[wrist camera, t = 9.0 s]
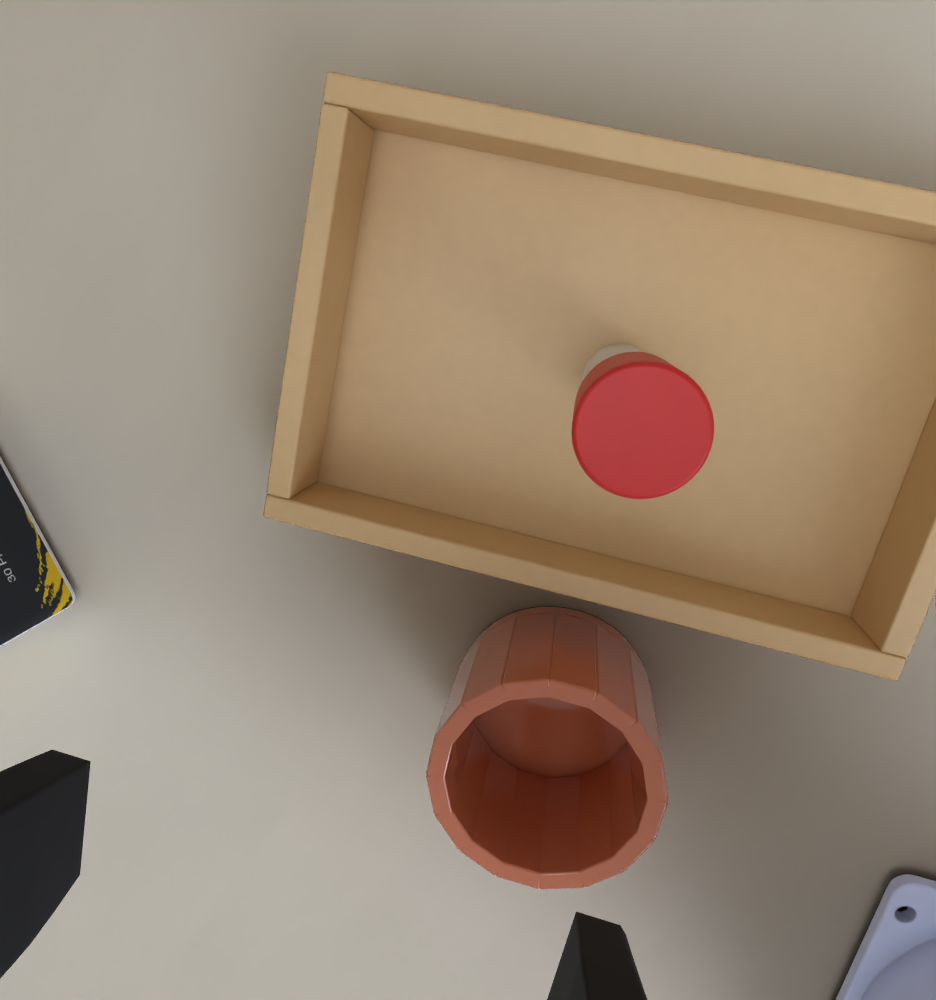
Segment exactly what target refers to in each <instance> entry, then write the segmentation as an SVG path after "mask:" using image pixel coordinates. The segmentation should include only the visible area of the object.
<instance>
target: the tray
mask: <svg viewBox="0 0 936 1000" xmlns="http://www.w3.org/2000/svg"><path fill="white" fill-rule="evenodd" d="M323 102H324V104H322V107H321V114H320V121H319V128H318V135H317V142H316V149H315V156H314V163H313V170H312V177H311V184H310V191H309V198H308V205H307V212H306V219H305V226H304V233H303V240H302V247H301V254H300V261H299V268H298V275H297V282H296V289H295V296H294V303H293V310H292V317H291V324H290V331H289V338H288V345H287V352H286V359H285V366H284V373H283V380H282V387H281V394H280V401H279V408H278V415H277V422H276V429H275V436H274V443H273V450H272V457H271V464H270V471H269V478H268V485H267V493H268V494H267V495H266V500H265V507H264V514H263V515H264V517H266V518H270V519H274V520H278V521H282V522H286V523H289V524H293V525H297V526H301V527H305V528H309V529H313V530H316V531H320V532H324V533H328V534H332V535H336V536H339V537H343V538H347V539H351V540H355V541H359V542H363V543H366V544H370V545H374V546H378V547H382V548H386V549H389V550H393V551H397V552H401V553H405V554H409V555H413V556H416V557H420V558H424V559H428V560H432V561H436V562H439V563H443V564H447V565H451V566H455V567H459V568H463V569H466V570H470V571H474V572H478V573H482V574H486V575H489V576H493V577H497V578H501V579H505V580H509V581H513V582H516V583H520V584H524V585H528V586H532V587H536V588H539V589H543V590H547V591H551V592H555V593H559V594H563V595H566V596H570V597H574V598H578V599H582V600H586V601H589V602H593V603H597V604H601V605H605V606H609V607H613V608H616V609H620V610H624V611H628V612H632V613H636V614H639V615H643V616H647V617H651V618H655V619H659V620H663V621H666V622H670V623H674V624H678V625H682V626H686V627H689V628H693V629H697V630H701V631H705V632H709V633H713V634H716V635H720V636H724V637H728V638H732V639H736V640H739V641H743V642H747V643H751V644H755V645H759V646H763V647H766V648H770V649H774V650H778V651H782V652H786V653H789V654H793V655H797V656H801V657H805V658H809V659H813V660H816V661H820V662H824V663H828V664H832V665H836V666H839V667H843V668H847V669H851V670H855V671H859V672H863V673H866V674H870V675H874V676H878V677H882V678H886V679H889V680H893V681H897V680H898V679H899V677H900V674H901V672H902V670H903V667H904V665H905V662H906V658H908V657H909V654H910V652H911V649H912V647H913V645H914V642H915V640H916V638H917V635H918V633H919V631H920V628H921V626H922V623H923V621H924V619H925V616H926V614H927V612H928V609H929V607H930V604H931V602H932V600H933V597H934V595H935V593H936V192H934V191H929V190H924V189H919V188H914V187H909V186H904V185H899V184H894V183H889V182H884V181H879V180H874V179H869V178H864V177H859V176H854V175H849V174H844V173H839V172H833V171H828V170H823V169H818V168H813V167H808V166H803V165H798V164H793V163H788V162H783V161H778V160H773V159H768V158H763V157H758V156H753V155H748V154H743V153H738V152H733V151H728V150H723V149H718V148H713V147H708V146H703V145H698V144H692V143H687V142H682V141H677V140H672V139H667V138H662V137H657V136H652V135H647V134H642V133H637V132H632V131H627V130H622V129H617V128H612V127H607V126H602V125H597V124H592V123H587V122H582V121H577V120H572V119H567V118H562V117H557V116H551V115H546V114H541V113H536V112H531V111H526V110H521V109H516V108H511V107H506V106H501V105H496V104H491V103H486V102H481V101H476V100H471V99H466V98H461V97H456V96H451V95H446V94H441V93H436V92H431V91H426V90H421V89H416V88H410V87H405V86H400V85H395V84H390V83H385V82H380V81H375V80H370V79H365V78H360V77H355V76H350V75H345V74H340V73H335V72H327V74H326V80H325V87H324V94H323ZM612 344H629V345H632V346H634V347H637V348H638V349H640V350H641V351H643V352H644V353H649V354H653V355H656V356H658V357H660V358H662V359H664V360H665V361H667V362H669V363H670V364H672V365H673V366H675V367H676V368H678V369H680V370H681V371H683V372H684V373H686V374H687V375H688V376H690V377H691V378H692V379H693V380H694V381H695V382H696V383H697V384H698V385H699V386H700V387H701V389H702V390H703V392H704V393H705V395H706V397H707V399H708V401H709V403H710V406H711V409H712V412H713V418H714V439H713V443H712V447H711V450H710V453H709V455H708V458H707V459H706V461H705V463H704V465H703V466H702V468H701V469H700V470H699V472H698V473H697V474H696V475H695V476H694V477H693V478H692V479H691V480H690V481H689V482H688V483H686V484H685V485H684V486H682V487H681V488H679V489H677V490H676V491H673V492H671V493H669V494H667V495H664V496H661V497H656V498H651V499H630V498H625V497H621V496H618V495H615V494H612V493H610V492H608V491H606V490H605V489H603V488H601V487H600V486H598V485H597V484H596V483H595V482H593V481H592V480H591V479H590V478H589V476H588V475H587V474H586V473H585V472H584V470H583V469H582V467H581V466H580V464H579V462H578V460H577V458H576V455H575V452H574V448H573V444H572V434H571V432H572V420H573V412H574V405H575V399H576V395H577V392H578V389H579V387H580V385H581V383H582V377H583V372H584V369H585V366H586V364H587V362H588V361H589V359H590V358H591V357H592V355H594V354H595V353H596V352H597V351H598V350H600V349H601V348H603V347H605V346H608V345H612Z"/></svg>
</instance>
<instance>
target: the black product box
mask: <svg viewBox="0 0 936 1000" xmlns="http://www.w3.org/2000/svg"><path fill="white" fill-rule="evenodd" d="M74 600H75V594H74V591H73V589H72V587H71V585H70V584H69V582H68V580H67V578H66V576H65V574H64V573H63V571H62V569H61V567H60V565H59V563H58V561H57V560H56V558H55V556H54V554H53V552H52V550H51V549H50V547H49V545H48V543H47V541H46V539H45V538H44V536H43V534H42V532H41V530H40V528H39V527H38V525H37V523H36V521H35V519H34V517H33V516H32V514H31V512H30V510H29V508H28V506H27V505H26V503H25V501H24V499H23V497H22V495H21V494H20V492H19V490H18V488H17V486H16V484H15V483H14V481H13V479H12V477H11V475H10V473H9V472H8V470H7V468H6V466H5V464H4V462H3V461H2V459H1V457H0V647H1V646H3V645H4V644H6V643H8V642H10V641H11V640H13V639H15V638H17V637H18V636H20V635H22V634H24V633H25V632H27V631H29V630H31V629H32V628H34V627H36V626H38V625H39V624H41V623H43V622H44V621H46V620H48V619H50V618H51V617H53V616H55V615H57V614H58V613H60V612H62V611H64V610H65V609H67V608H68V607H70V606H71V605H72V604H73V602H74Z"/></svg>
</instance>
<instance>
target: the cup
mask: <svg viewBox="0 0 936 1000" xmlns="http://www.w3.org/2000/svg"><path fill="white" fill-rule="evenodd" d="M426 774H427V775H426V778H427V782H428V787H429V792H430V796H431V801H432V806H433V810H434V814H435V816H436V818H437V819H438V821H439V822H440V824H441V825H442V827H443V828H444V830H445V831H446V832H447V834H448V835H449V837H450V838H451V840H452V841H453V843H454V844H455V845H456V847H457V848H458V849H460V851H461V852H462V853H463V854H465V855H466V856H468V857H469V858H470V859H472V860H473V861H475V862H476V863H478V864H479V865H480V866H482V867H483V868H485V869H486V870H487V871H489V872H490V873H492V874H493V875H496V876H497V877H500V878H503V879H507V880H510V881H513V882H517V883H520V884H523V885H527V886H530V887H533V888H537V889H538V888H540V889H561V888H583V887H584V886H585V887H587V886H590V885H592V884H595V883H597V882H600V881H602V880H604V879H607V878H609V877H612V876H614V875H617V874H619V873H622V872H623V871H624V870H627V869H628V868H629V866H630V865H631V864H632V863H633V862H634V861H635V860H636V859H637V858H638V857H639V856H640V855H641V854H642V853H643V852H644V851H645V850H646V849H647V848H648V847H649V846H650V845H651V844H652V843H653V842H654V840H655V839H656V836H657V833H658V830H659V827H660V824H661V821H662V819H663V816H664V813H665V810H666V807H667V804H668V802H667V801H668V794H667V787H666V779H665V772H664V765H663V758H662V752H661V746H660V740H659V734H658V728H657V722H656V716H655V710H654V705H653V699H652V693H651V687H650V681H649V679H648V676H647V673H646V670H645V667H644V665H643V663H642V661H641V659H640V657H639V656H638V654H637V652H636V651H635V650H634V648H633V647H632V646H631V644H630V643H629V642H628V641H627V640H626V639H625V638H624V637H623V636H622V635H621V634H620V633H619V632H618V631H616V630H615V629H614V628H613V627H611V626H610V625H608V624H607V623H605V622H603V621H602V620H600V619H598V618H596V617H594V616H592V615H589V614H587V613H583V612H580V611H577V610H573V609H568V608H562V607H536V608H530V609H524V610H521V611H518V612H515V613H512V614H510V615H507V616H505V617H503V618H501V619H499V620H498V621H496V622H495V623H493V624H491V625H490V626H489V627H488V628H487V629H485V630H484V631H483V632H482V633H481V634H480V635H479V636H478V637H477V639H476V640H475V641H474V642H473V644H472V645H471V647H470V648H469V650H468V651H467V653H466V656H465V658H464V659H463V660H462V663H461V664H460V667H459V670H458V672H457V675H456V678H455V681H454V684H453V686H452V689H451V692H450V695H449V698H448V700H447V703H446V706H445V709H444V712H443V714H442V717H441V720H440V723H439V726H438V728H437V731H436V734H435V737H434V741H433V745H432V749H431V754H430V758H429V762H428V767H427V771H426Z"/></svg>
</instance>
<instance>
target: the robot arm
mask: <svg viewBox="0 0 936 1000" xmlns="http://www.w3.org/2000/svg"><path fill="white" fill-rule="evenodd" d="M89 771H90V761H87V760H84V759H81V758H78V757H74V756H71V755H68V754H65V753H62V752H58V751H55V750H50V751H48V752H45V753H43V754H40V755H38V756H35V757H33V758H31V759H28V760H26V761H24V762H21V763H19V764H17V765H14V766H12V767H10V768H8V769H5V770H3V771H1V772H0V978H1V977H2V976H3V975H4V974H5V972H6V971H7V970H8V969H9V968H10V967H11V966H12V965H13V963H14V962H15V961H16V960H17V959H18V958H19V956H20V955H21V954H22V953H23V952H24V951H25V950H26V948H27V947H28V946H29V945H30V944H31V942H32V941H33V940H34V938H35V937H36V936H37V934H38V933H39V931H40V930H41V929H42V927H43V926H44V925H45V923H46V922H47V921H48V919H49V918H50V917H51V915H52V914H53V912H54V911H55V910H56V908H57V907H58V905H59V904H60V902H61V901H62V900H63V898H64V897H65V895H66V894H67V892H68V891H69V890H70V888H71V887H72V885H73V884H74V882H75V881H76V879H77V878H78V877H79V875H80V867H81V856H82V846H83V835H84V824H85V814H86V803H87V793H88V782H89ZM903 906H908V908H907V910H904V911H896V910H897V909H898V908H900V907H903ZM547 1000H647V998H646V995H645V992H644V989H643V986H642V983H641V980H640V977H639V974H638V971H637V968H636V965H635V962H634V959H633V956H632V953H631V950H630V947H629V944H628V940H627V937H626V934H625V933H624V931H623V929H622V927H621V926H620V925H618V924H614V923H611V922H608V921H605V920H601V919H598V918H595V917H592V916H588V915H585V914H582V913H579V912H576V914H575V917H574V920H573V923H572V926H571V929H570V932H569V935H568V938H567V941H566V944H565V947H564V950H563V953H562V956H561V959H560V962H559V966H558V969H557V972H556V975H555V978H554V981H553V984H552V987H551V990H550V993H549V996H548V999H547ZM836 1000H936V881H933V880H929V879H926V878H922V877H919V876H915V875H909V874H905V875H900V876H897V877H896V878H894V879H892V880H891V882H890V883H889V884H888V886H887V889H886V891H885V893H884V895H883V897H882V899H881V902H880V904H879V906H878V908H877V910H876V913H875V915H874V917H873V919H872V921H871V923H870V926H869V928H868V930H867V932H866V934H865V937H864V939H863V941H862V943H861V945H860V948H859V950H858V952H857V954H856V956H855V958H854V961H853V963H852V965H851V967H850V969H849V972H848V974H847V976H846V978H845V980H844V983H843V985H842V987H841V989H840V991H839V993H838V996H837V998H836Z"/></svg>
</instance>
